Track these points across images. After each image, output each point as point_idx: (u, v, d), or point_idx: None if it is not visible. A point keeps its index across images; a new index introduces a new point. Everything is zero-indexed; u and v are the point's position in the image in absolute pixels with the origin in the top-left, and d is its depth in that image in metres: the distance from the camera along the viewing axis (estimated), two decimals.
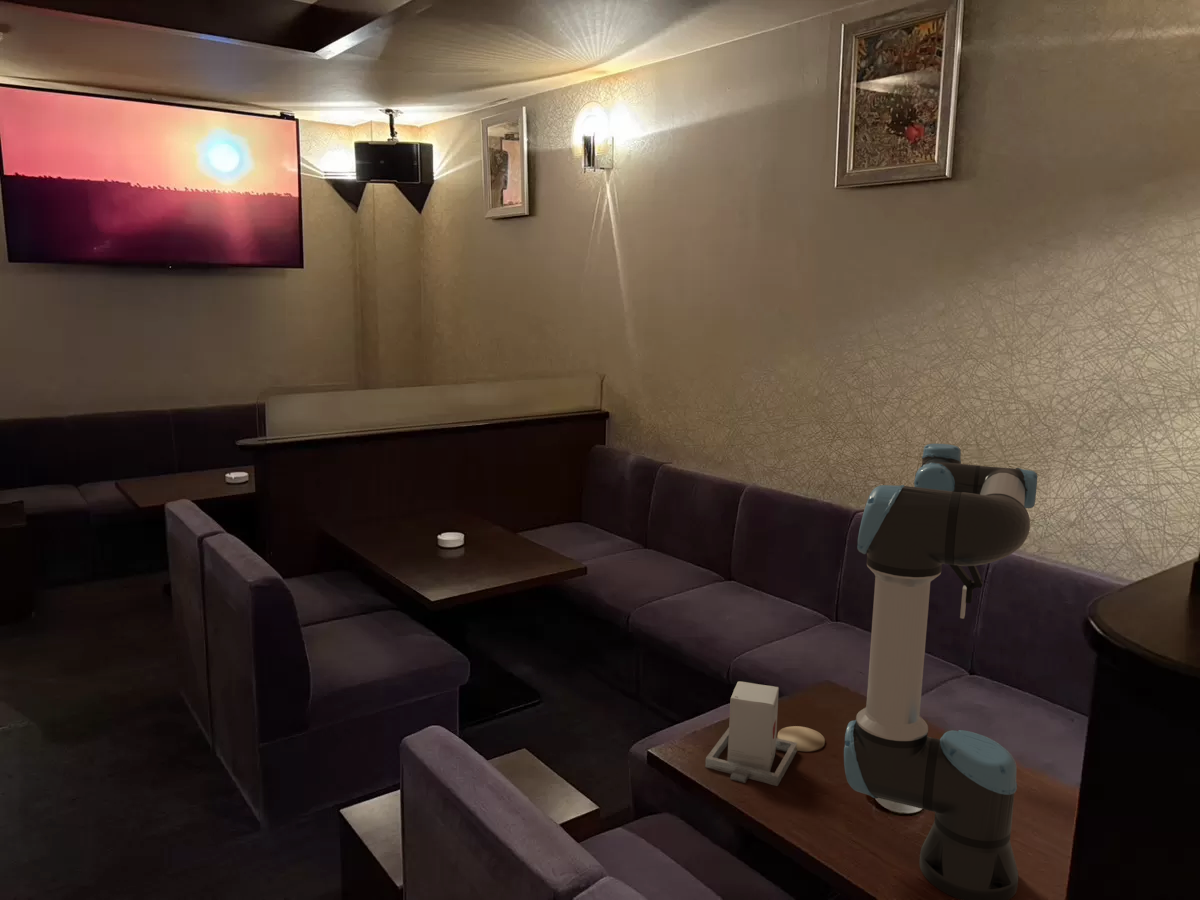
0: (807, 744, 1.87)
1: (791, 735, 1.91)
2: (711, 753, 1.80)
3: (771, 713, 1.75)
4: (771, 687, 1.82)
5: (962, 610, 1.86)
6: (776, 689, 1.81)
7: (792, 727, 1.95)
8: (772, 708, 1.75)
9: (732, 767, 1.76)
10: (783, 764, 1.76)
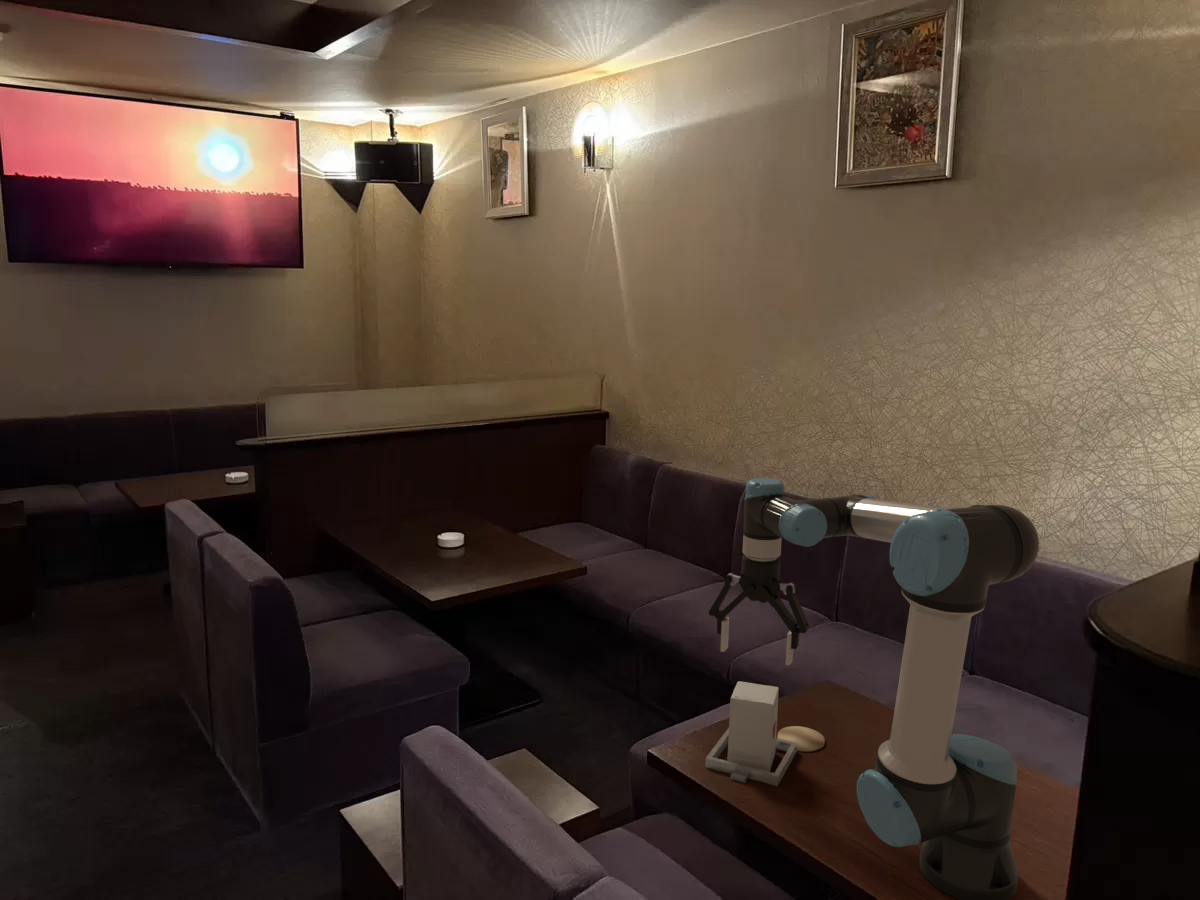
0: (807, 744, 1.87)
1: (791, 735, 1.91)
2: (711, 753, 1.80)
3: (771, 713, 1.75)
4: (771, 687, 1.82)
5: (787, 656, 1.74)
6: (776, 689, 1.81)
7: (792, 727, 1.95)
8: (772, 708, 1.75)
9: (732, 767, 1.76)
10: (783, 764, 1.76)
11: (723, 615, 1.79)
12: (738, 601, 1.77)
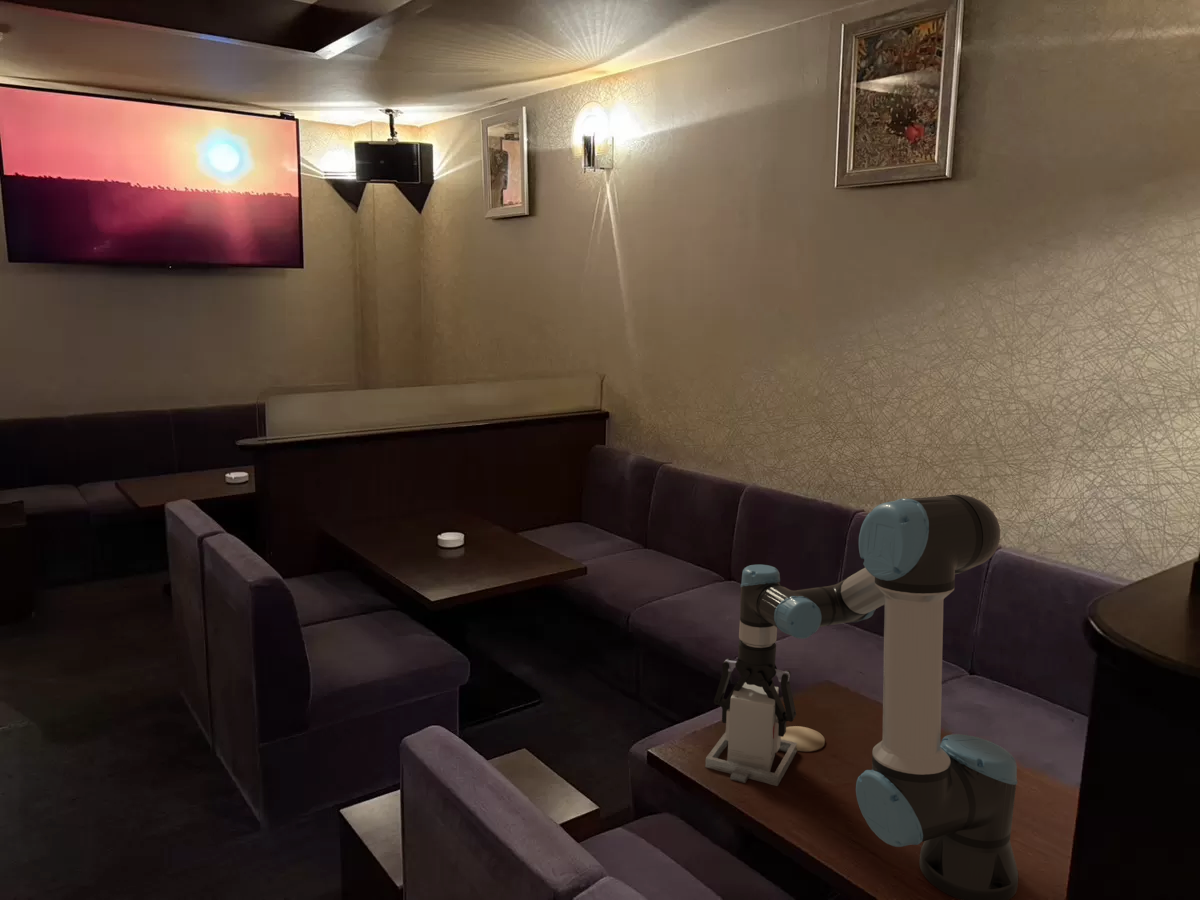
0: (807, 744, 1.87)
1: (791, 735, 1.91)
2: (711, 753, 1.80)
3: (771, 713, 1.75)
4: None
5: (775, 743, 1.78)
6: (776, 689, 1.81)
7: (792, 727, 1.95)
8: (772, 708, 1.75)
9: (732, 767, 1.76)
10: (783, 764, 1.76)
11: (727, 704, 1.81)
12: (738, 687, 1.80)
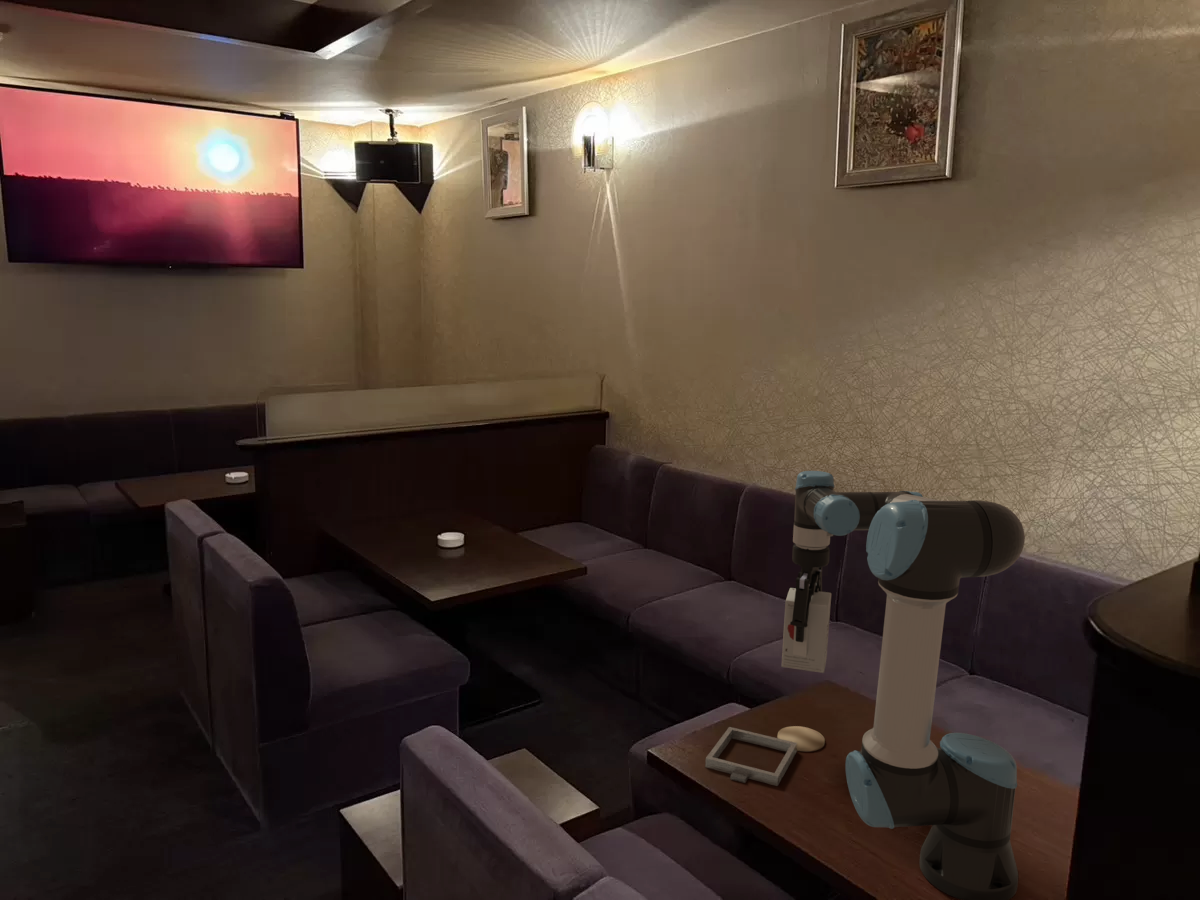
0: (807, 744, 1.87)
1: (791, 735, 1.91)
2: (711, 753, 1.80)
3: (785, 608, 1.83)
4: (824, 602, 1.81)
5: None
6: (821, 604, 1.80)
7: (792, 727, 1.95)
8: (785, 603, 1.82)
9: (732, 767, 1.76)
10: (783, 764, 1.76)
11: None
12: None
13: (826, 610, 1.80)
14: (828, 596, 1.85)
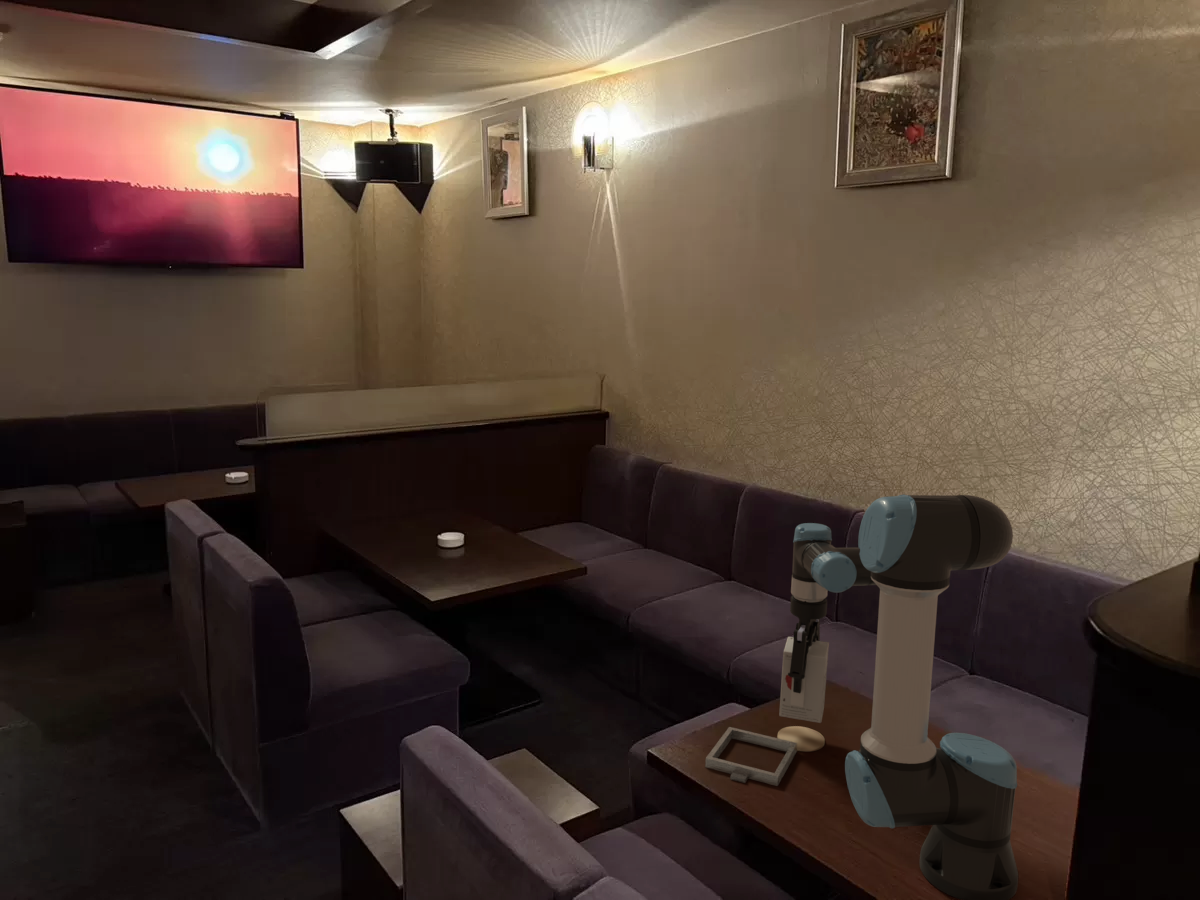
0: (807, 744, 1.87)
1: (791, 735, 1.91)
2: (711, 753, 1.80)
3: None
4: (822, 653, 1.83)
5: None
6: (819, 655, 1.82)
7: (792, 727, 1.95)
8: (783, 654, 1.84)
9: (732, 767, 1.76)
10: (783, 764, 1.76)
11: None
12: None
13: (823, 662, 1.82)
14: (826, 646, 1.87)
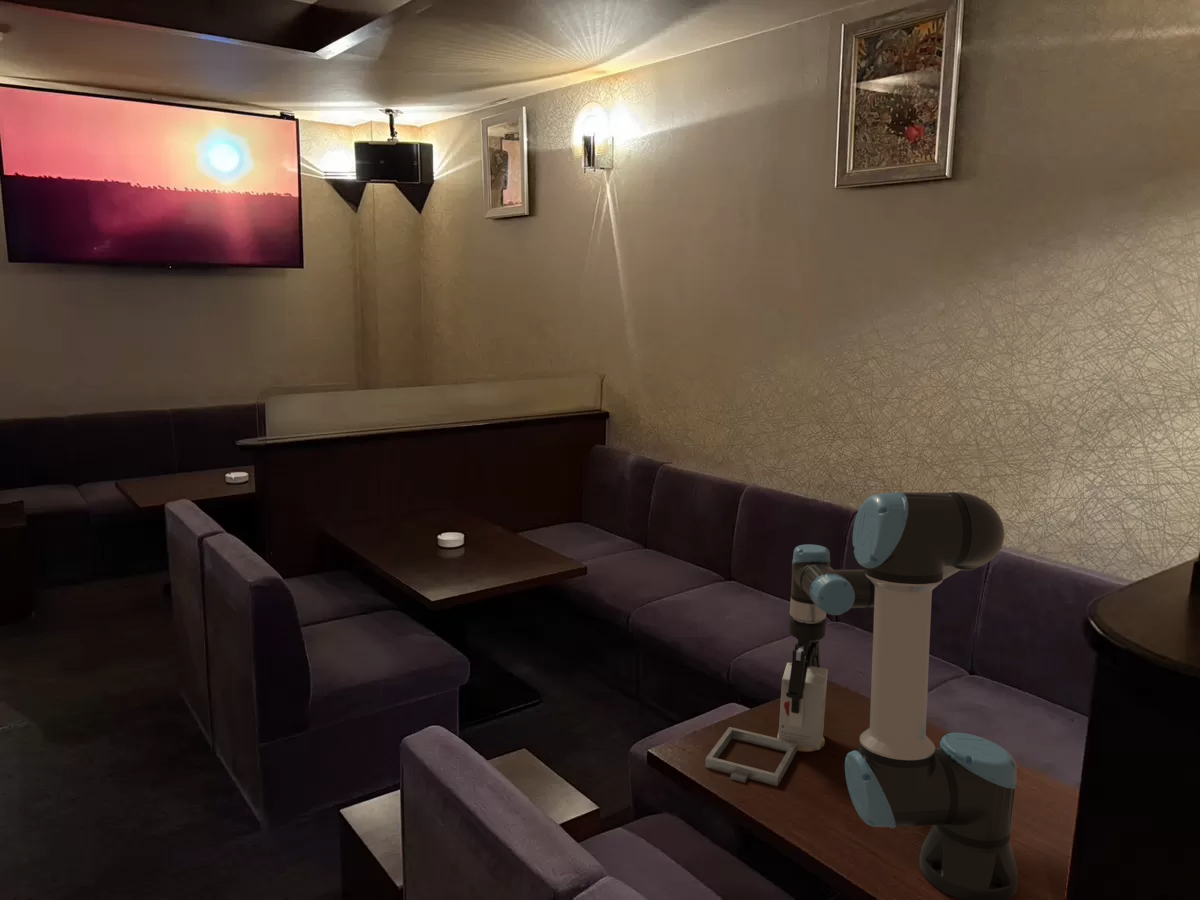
0: None
1: None
2: (711, 753, 1.80)
3: None
4: (820, 681, 1.84)
5: None
6: (817, 683, 1.83)
7: None
8: (782, 681, 1.85)
9: (732, 767, 1.76)
10: (783, 764, 1.76)
11: None
12: None
13: (822, 689, 1.82)
14: (824, 673, 1.87)
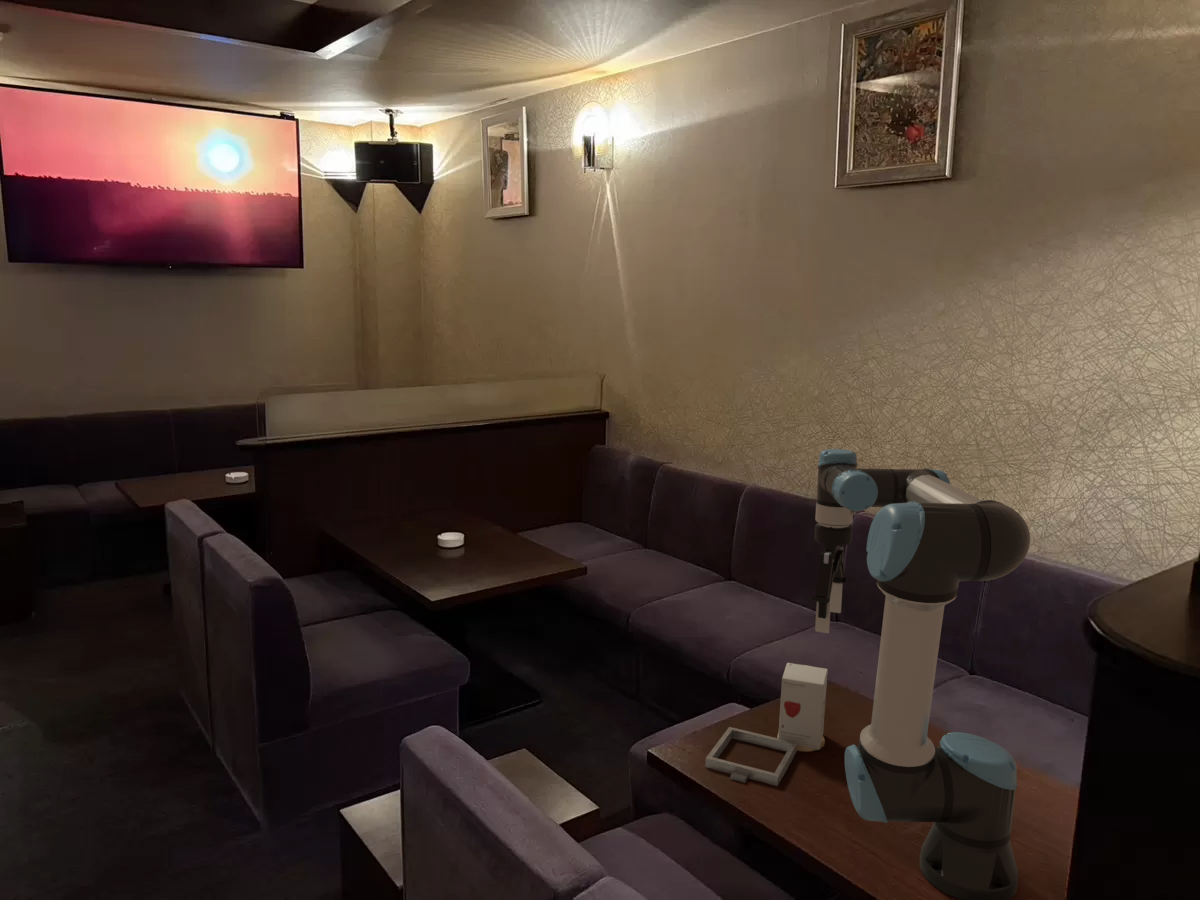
0: None
1: None
2: (711, 753, 1.80)
3: None
4: (820, 681, 1.84)
5: None
6: (817, 683, 1.83)
7: None
8: (782, 681, 1.85)
9: (732, 767, 1.76)
10: (783, 764, 1.76)
11: None
12: None
13: (822, 689, 1.83)
14: (824, 673, 1.88)
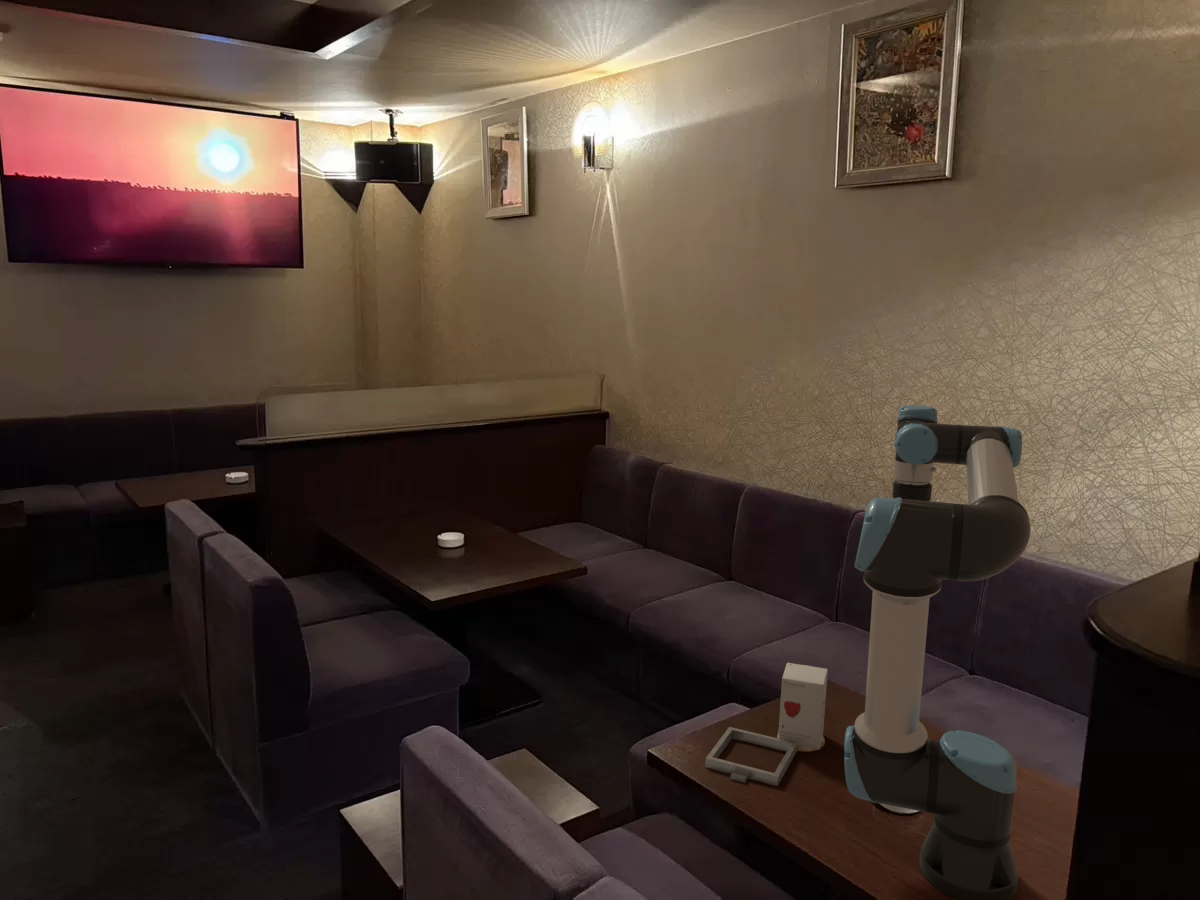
0: None
1: None
2: (711, 753, 1.80)
3: None
4: (820, 681, 1.84)
5: None
6: (817, 683, 1.83)
7: None
8: (782, 681, 1.85)
9: (732, 767, 1.76)
10: (783, 764, 1.76)
11: None
12: None
13: (822, 689, 1.83)
14: (824, 673, 1.88)
